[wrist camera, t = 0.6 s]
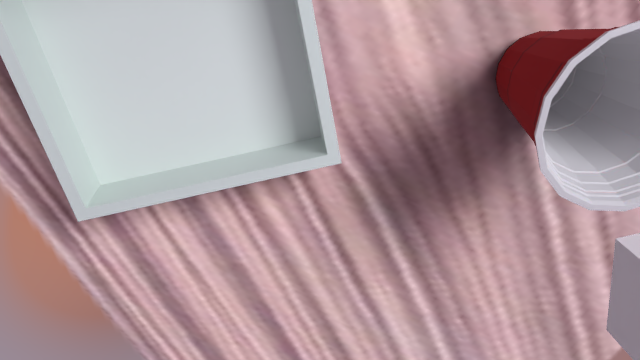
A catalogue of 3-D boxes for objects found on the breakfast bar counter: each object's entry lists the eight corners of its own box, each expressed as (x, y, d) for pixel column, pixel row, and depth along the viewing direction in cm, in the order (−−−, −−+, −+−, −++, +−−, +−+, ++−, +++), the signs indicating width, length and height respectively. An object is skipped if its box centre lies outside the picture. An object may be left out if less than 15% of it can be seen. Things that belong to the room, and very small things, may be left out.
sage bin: (-18, -74, 29) (-61, -77, 25) (280, -135, 30) (284, -148, 26) (97, 191, 37) (77, 221, 33) (332, 139, 37) (341, 163, 33)
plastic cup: (456, 7, 34) (550, 35, 23) (608, -18, 35) (767, -1, 24) (459, 152, 39) (537, 232, 28) (592, 129, 40) (719, 198, 29)
